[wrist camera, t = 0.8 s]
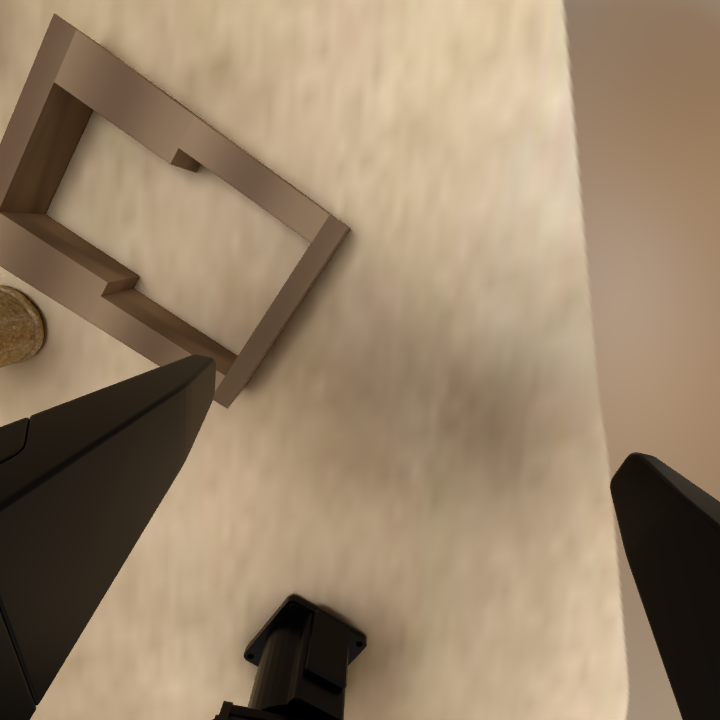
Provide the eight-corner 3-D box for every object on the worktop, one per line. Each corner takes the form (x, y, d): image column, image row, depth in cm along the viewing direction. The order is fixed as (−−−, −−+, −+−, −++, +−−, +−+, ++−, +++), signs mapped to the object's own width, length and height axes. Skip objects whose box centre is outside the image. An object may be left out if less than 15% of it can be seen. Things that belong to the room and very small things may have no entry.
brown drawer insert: (350, 228, 23) (347, 228, 20) (243, 388, 26) (227, 408, 23) (98, 43, 21) (54, 13, 18) (10, 239, 23) (-40, 241, 21)
